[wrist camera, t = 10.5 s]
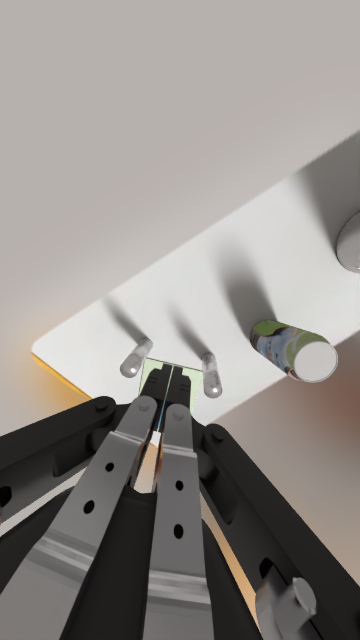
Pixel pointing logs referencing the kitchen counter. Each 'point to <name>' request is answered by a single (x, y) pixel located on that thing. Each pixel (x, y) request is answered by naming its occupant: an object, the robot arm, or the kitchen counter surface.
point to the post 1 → (136, 358)
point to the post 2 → (211, 376)
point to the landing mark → (151, 364)
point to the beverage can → (295, 350)
